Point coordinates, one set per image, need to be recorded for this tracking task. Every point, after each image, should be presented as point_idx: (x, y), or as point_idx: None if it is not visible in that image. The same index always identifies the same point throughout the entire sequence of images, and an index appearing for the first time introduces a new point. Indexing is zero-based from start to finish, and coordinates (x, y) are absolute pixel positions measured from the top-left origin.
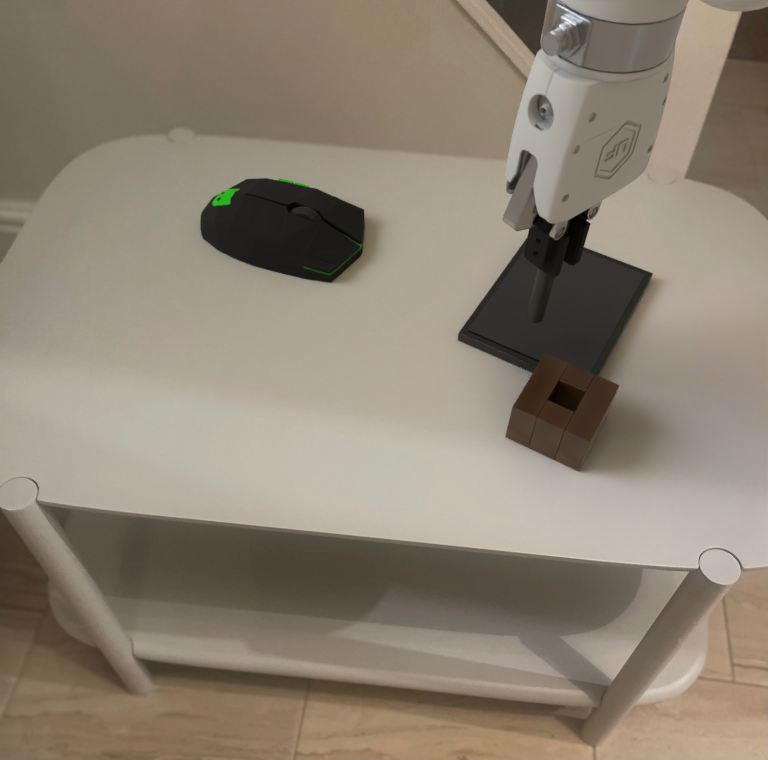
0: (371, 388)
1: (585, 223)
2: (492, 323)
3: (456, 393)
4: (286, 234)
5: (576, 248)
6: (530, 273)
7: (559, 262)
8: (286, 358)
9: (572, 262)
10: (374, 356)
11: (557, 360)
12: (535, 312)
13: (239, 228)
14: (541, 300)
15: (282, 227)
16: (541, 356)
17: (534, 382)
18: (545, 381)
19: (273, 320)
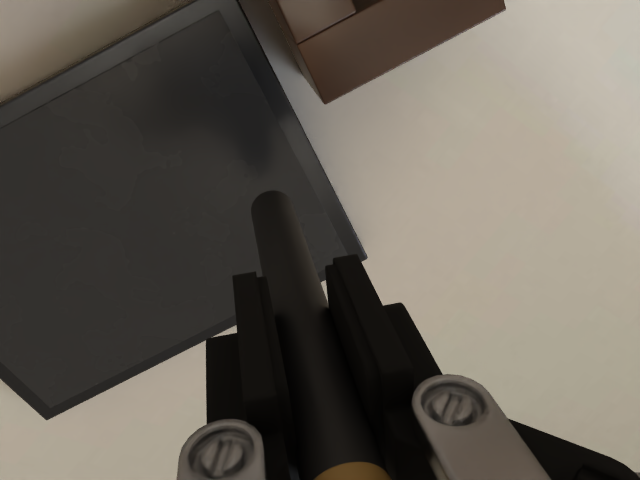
0: (553, 225)
1: (263, 409)
2: None
3: (451, 143)
4: None
5: (274, 320)
6: (134, 325)
7: (371, 290)
8: (600, 329)
9: (266, 281)
10: (501, 279)
11: (316, 68)
12: (294, 211)
13: None
14: (295, 228)
15: None
16: (264, 127)
17: (412, 41)
18: (388, 28)
19: (562, 394)
